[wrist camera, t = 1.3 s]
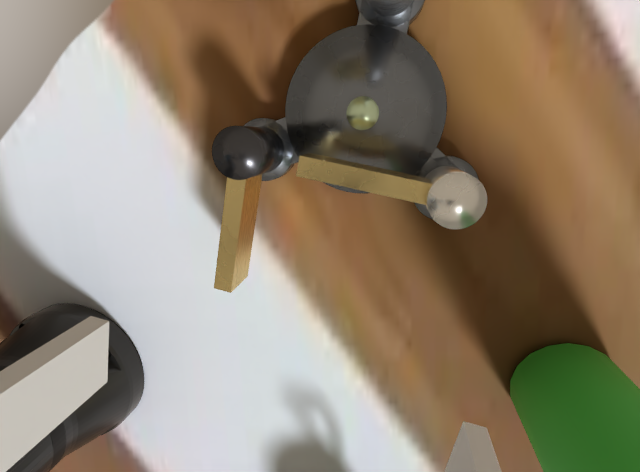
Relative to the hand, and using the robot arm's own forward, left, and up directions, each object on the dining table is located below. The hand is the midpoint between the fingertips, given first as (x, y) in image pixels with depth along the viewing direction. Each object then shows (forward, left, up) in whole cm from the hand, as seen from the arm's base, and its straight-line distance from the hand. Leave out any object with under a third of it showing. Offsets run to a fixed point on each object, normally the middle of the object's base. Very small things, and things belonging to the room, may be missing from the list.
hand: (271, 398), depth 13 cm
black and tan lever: (-8, +2, -19) cm, 21 cm away
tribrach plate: (0, +13, -21) cm, 24 cm away
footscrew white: (+3, +7, -19) cm, 20 cm away
